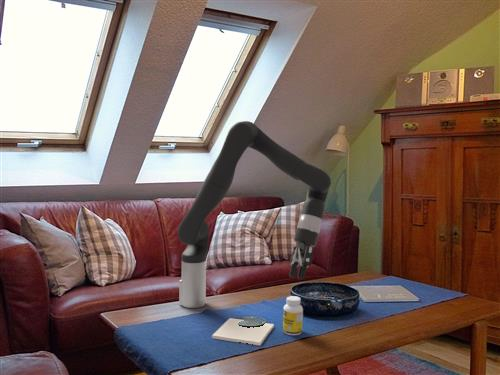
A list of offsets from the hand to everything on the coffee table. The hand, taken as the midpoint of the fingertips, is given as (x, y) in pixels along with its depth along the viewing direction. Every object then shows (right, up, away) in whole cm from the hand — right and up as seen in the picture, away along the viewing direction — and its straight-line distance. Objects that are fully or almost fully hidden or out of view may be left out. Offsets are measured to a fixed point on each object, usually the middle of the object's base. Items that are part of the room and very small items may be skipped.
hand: (296, 277), depth 159 cm
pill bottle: (-1, -19, +3) cm, 19 cm away
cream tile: (-17, -18, +2) cm, 25 cm away
